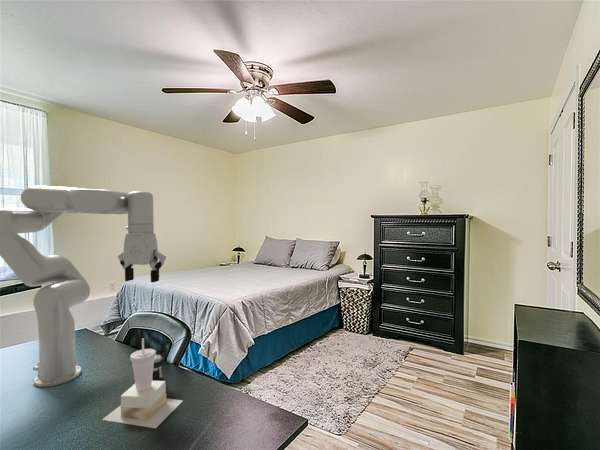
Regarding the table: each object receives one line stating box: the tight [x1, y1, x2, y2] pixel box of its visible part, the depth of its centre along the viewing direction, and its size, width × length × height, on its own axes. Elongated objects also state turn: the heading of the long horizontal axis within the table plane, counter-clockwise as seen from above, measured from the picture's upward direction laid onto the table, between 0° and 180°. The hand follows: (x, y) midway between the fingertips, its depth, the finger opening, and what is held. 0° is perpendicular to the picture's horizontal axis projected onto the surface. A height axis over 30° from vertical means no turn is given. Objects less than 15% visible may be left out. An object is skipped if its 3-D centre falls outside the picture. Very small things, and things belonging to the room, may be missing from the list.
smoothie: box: [129, 337, 157, 392], centre depth 86 cm, size 6×6×14 cm
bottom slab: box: [121, 391, 167, 421], centre depth 86 cm, size 8×8×3 cm
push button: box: [152, 354, 166, 382], centre depth 97 cm, size 7×5×10 cm
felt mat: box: [101, 397, 183, 429], centre depth 86 cm, size 16×12×1 cm
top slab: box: [120, 380, 167, 408], centre depth 86 cm, size 8×8×3 cm
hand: (142, 281), depth 104 cm, fingers open, 9 cm apart
